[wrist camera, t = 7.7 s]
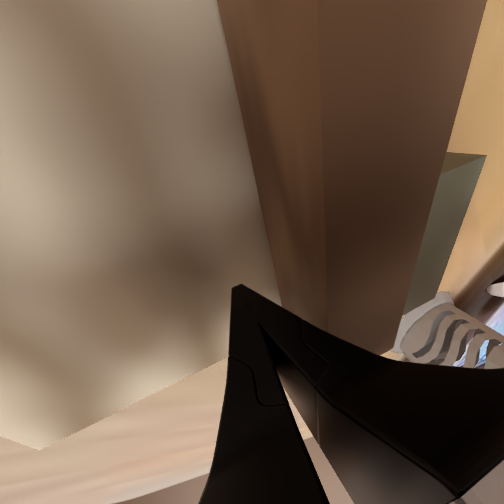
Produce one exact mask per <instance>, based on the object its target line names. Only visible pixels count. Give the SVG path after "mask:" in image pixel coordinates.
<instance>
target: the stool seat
mask: <svg viewBox="0 0 504 504" xmlns="http://www.w3.org/2000/svg"><path fill="white" fill-rule="evenodd" d="M486 156H487V155H477V154H464V153H450V152H446V154H445V158H444V162H443V166H442V169H441V173H440V177H439V180H438V184H437V188H436V192H435V195H434V199H433V203H432V206H431V210H430V214H429V218H428V221H427V225H426V229H425V232H424V236H423V240H422V244H421V247H420V251H419V255H418V258H417V262H416V266H415V270H414V273H413V277H412V281H411V284H410V288H409V292H408V296H407V299H406V303H405V307H404V311H403V314H402V316H403V315H405V314H407V313H408V312H410V311H412V310H414V309H416V308H418V307H419V306H421V305H423V304H425V303H427V302H429V301H430V300H432V299H434V298H435V296H436V293H437V291H438V288H439V285H440V282H441V280H442V277H443V274H444V271H445V269H446V266H447V263H448V260H449V258H450V255H451V252H452V249H453V247H454V244H455V241H456V238H457V236H458V233H459V230H460V227H461V225H462V222H463V219H464V217H465V214H466V211H467V208H468V206H469V203H470V200H471V197H472V195H473V192H474V189H475V186H476V184H477V181H478V178H479V175H480V173H481V170H482V167H483V164H484V162H485V159H486ZM239 284H243V285H245V286H247V287H248V288H250V289H252V290H254V291H255V292H257V293H259V294H260V295H262V296H264V297H266V298H267V299H269V300H271V301H273V302H274V303H276V304H278V305H280V306H281V307H282V304H281V299H280V294H279V290H278V285H277V280H276V275H275V271H274V266H273V261H272V256H271V252H270V247H269V242H268V238H267V233H266V228H265V223H264V219H263V214H262V209H261V204H260V200H259V195H258V190H257V186H256V181H255V176H254V171H253V167H252V162H251V157H250V152H249V148H248V143H247V138H246V134H245V129H244V124H243V119H242V115H241V110H240V105H239V100H238V96H237V91H236V86H235V82H234V77H233V72H232V67H231V63H230V58H229V53H228V49H227V44H226V39H225V34H224V30H223V25H222V20H221V15H220V11H219V6H218V1H217V0H0V437H3V438H6V439H9V440H11V441H14V442H17V443H20V444H23V445H25V446H28V447H31V448H34V449H37V450H39V451H40V450H42V449H44V448H46V447H48V446H50V445H52V444H54V443H56V442H58V441H60V440H62V439H64V438H66V437H68V436H70V435H72V434H74V433H76V432H78V431H80V430H82V429H84V428H86V427H88V426H90V425H92V424H94V423H96V422H98V421H100V420H102V419H104V418H106V417H108V416H110V415H112V414H114V413H116V412H118V411H120V410H122V409H124V408H126V407H128V406H130V405H132V404H134V403H136V402H138V401H140V400H142V399H144V398H146V397H148V396H150V395H152V394H154V393H156V392H158V391H160V390H162V389H164V388H166V387H168V386H170V385H172V384H174V383H176V382H178V381H180V380H182V379H184V378H186V377H188V376H190V375H192V374H194V373H196V372H198V371H200V370H202V369H204V368H206V367H208V366H210V365H212V364H214V363H216V362H218V361H220V360H222V359H224V358H226V357H228V350H229V329H230V309H231V289H232V287H234V286H237V285H239Z"/></svg>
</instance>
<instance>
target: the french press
mask: <svg viewBox="0 0 504 504" xmlns="http://www.w3.org/2000/svg"><path fill="white" fill-rule="evenodd" d="M459 319H465V320H464V321H463V322H462V324H461V325H460V326H459V327H458V328H457V330H456V331H455V332H454V330H455V325H456V320H459ZM477 328H478V329H477ZM470 329H477V330H476V331H475V333H474V337H473V339H472V341H471V342H470V343H469V347H468V350H467V354H466V359H465V363H464V365H462V366H460V367H467V368H474V367H475V365H476V364H477V362H478V361H479V353H480V347H481V346H482V344H483V343H484V341H485V340H489V343H488V346H487V351H486V362H485V366H484V367H483V369H495V368H503V367H504V336H503V335H501V334H500V333H498V332H496V331H495V330H493V329H491V328H490V327H488V326H486V325H485V324H483V323H481V322H480V321H478V320H476V319H475V318H473V317H471V316H470V315H468V314H466V313H465V312H463V311H461V310H460V309H458V308H456V307H455V306H454V302H453V299H452V297H451V295H450V293H449V292H439V293H437V294H436V296H435V298H434V299H432V300H430V301H429V302H427V303H425V304H423V305H421V306H419V307H418V308H416V309H414V310H412V311H410V312H408V313H407V314H406V315H405V316H404V317H403V318H402V319H401V322H400V325H399V329H398V333H397V337H396V340H395V344H394V348H392V349H390V351H392V352H395V353H403V354H404V355H405V356H406V357H407V358H408V359H409V360H410V361H411V362H412V363H423V364H434V365H445V366H453V364H454V362H455V361H458V360H460V358H461V357H462V355H463V354H464V352H465V350H466V339H467V334H468V330H470ZM501 343H503V345H499V344H501ZM449 348H450V349H449ZM448 350H449V352H448V354H447V356H446V358H444V359H439V360H434V358H436V357H437V356H438V355H439V354H441V353H443V352H446V351H448Z"/></svg>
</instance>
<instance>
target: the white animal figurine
mask: <svg viewBox="0 0 504 504" xmlns="http://www.w3.org/2000/svg"><path fill="white" fill-rule="evenodd" d="M486 291H487V292H488V293H490V294H491V295H494V296H498V297H501V299H503V300H504V282H502V283H497V284H493V285H490V286H489V287H488V288H487V290H486Z"/></svg>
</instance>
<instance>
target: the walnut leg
mask: <svg viewBox="0 0 504 504" xmlns="http://www.w3.org/2000/svg"><path fill="white" fill-rule="evenodd" d="M217 1H218V6H219V11H220V15H221V20H222V25H223V30H224V34H225V39H226V44H227V49H228V53H229V58H230V63H231V67H232V72H233V77H234V82H235V86H236V91H237V96H238V100H239V105H240V110H241V115H242V119H243V124H244V129H245V134H246V138H247V143H248V148H249V152H250V157H251V162H252V167H253V171H254V176H255V181H256V186H257V190H258V195H259V200H260V204H261V209H262V214H263V219H264V223H265V228H266V233H267V238H268V242H269V247H270V252H271V256H272V261H273V266H274V271H275V275H276V280H277V285H278V290H279V294H280V299H281V304H282V307H283V308H285V309H286V310H288V311H290V312H292V313H293V314H295V315H297V316H299V317H300V318H302V320H303V319H304V320H306V321H307V322H309V323H311V324H312V325H314V326H316V327H318V328H320V329H322V330H324V331H326V332H328V333H330V334H332V335H334V336H336V337H338V338H341V339H343V340H345V341H347V342H350V343H352V344H354V345H357V346H359V347H361V348H363V349H366V350H368V351H370V352H372V353H375V354H377V355H379V356H380V355H381V354H383V353H385V352H387V351H389V350H390V349H392V348H394V344H395V340H396V337H397V333H398V329H399V325H400V322H401V318H402V314H403V311H404V307H405V303H406V299H407V296H408V292H409V288H410V284H411V281H412V277H413V273H414V270H415V266H416V262H417V258H418V255H419V251H420V247H421V244H422V240H423V236H424V232H425V229H426V225H427V221H428V218H429V214H430V210H431V206H432V203H433V199H434V195H435V192H436V188H437V184H438V180H439V177H440V173H441V169H442V166H443V162H444V158H445V154H446V151H447V147H448V143H449V140H450V136H451V132H452V128H453V125H454V121H455V117H456V114H457V110H458V106H459V102H460V99H461V95H462V91H463V88H464V84H465V80H466V76H467V73H468V69H469V65H470V62H471V58H472V54H473V50H474V47H475V43H476V39H477V36H478V32H479V28H480V24H481V21H482V17H483V13H484V10H485V6H486V2H487V0H217Z"/></svg>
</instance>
